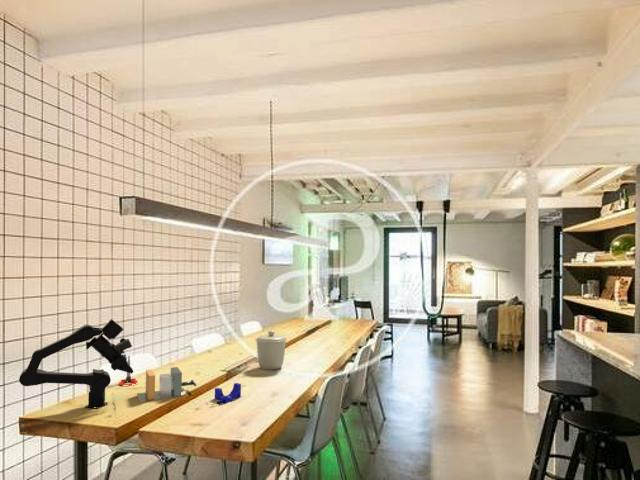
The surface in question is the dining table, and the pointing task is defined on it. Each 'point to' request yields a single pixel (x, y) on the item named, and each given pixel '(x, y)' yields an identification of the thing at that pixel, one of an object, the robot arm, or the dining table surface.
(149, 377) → the block
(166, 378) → the steel block
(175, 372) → the vise
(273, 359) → the canister
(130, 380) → the red handwheel with stem
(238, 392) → the blue arch block
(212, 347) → the dining table surface
